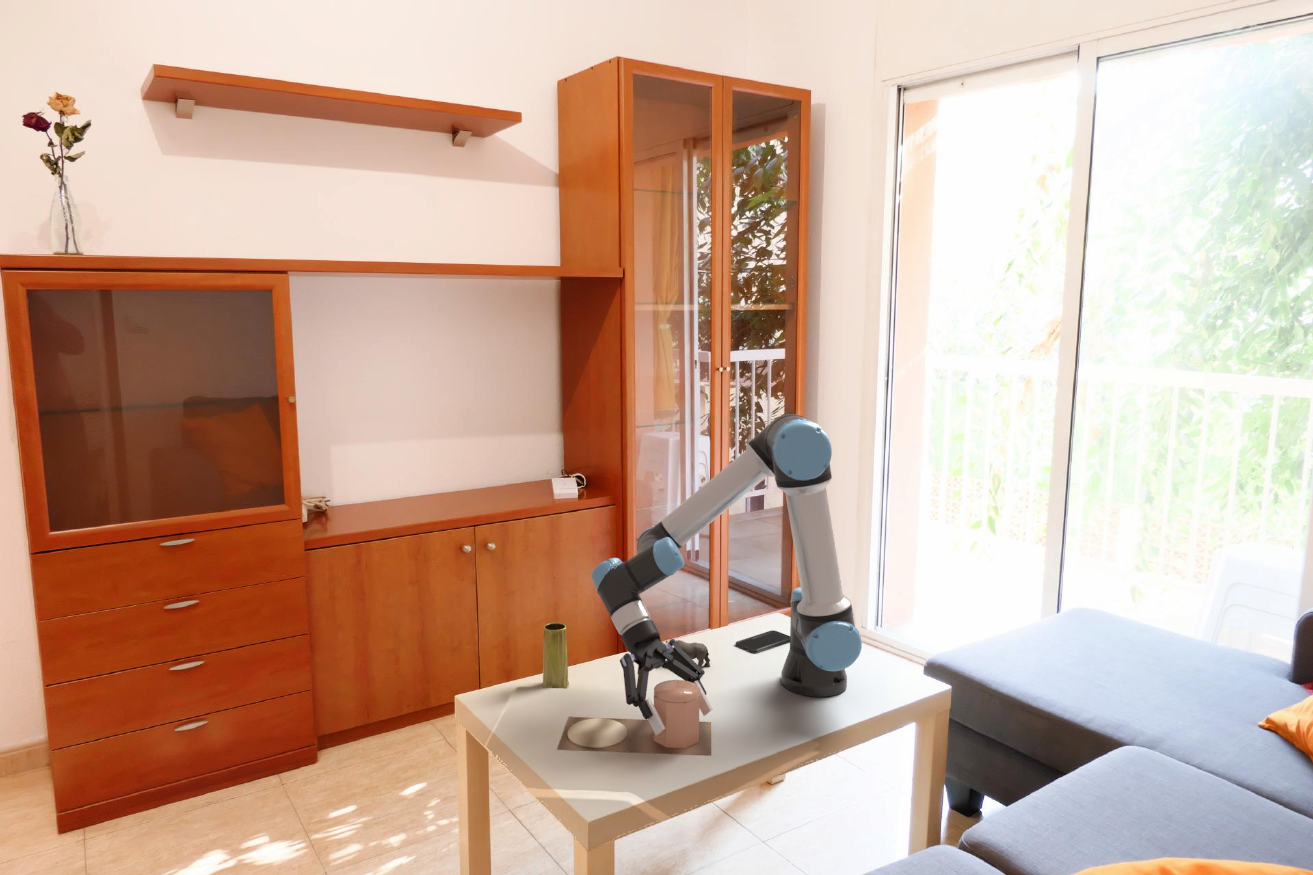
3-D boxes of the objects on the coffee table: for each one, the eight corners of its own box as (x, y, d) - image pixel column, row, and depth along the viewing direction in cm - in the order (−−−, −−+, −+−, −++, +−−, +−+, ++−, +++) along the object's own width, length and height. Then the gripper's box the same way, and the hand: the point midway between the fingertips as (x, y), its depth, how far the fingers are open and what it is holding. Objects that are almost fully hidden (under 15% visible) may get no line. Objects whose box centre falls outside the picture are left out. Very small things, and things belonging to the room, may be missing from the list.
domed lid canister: (677, 721, 182) (678, 676, 180) (708, 737, 175) (709, 690, 174) (644, 735, 176) (644, 688, 174) (675, 752, 169) (675, 703, 167)
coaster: (629, 721, 182) (629, 719, 182) (624, 749, 170) (624, 747, 170) (572, 718, 183) (572, 717, 182) (562, 746, 171) (563, 744, 171)
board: (711, 727, 182) (711, 721, 182) (711, 761, 168) (711, 755, 168) (568, 722, 184) (568, 716, 184) (557, 755, 170) (557, 749, 170)
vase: (547, 693, 198) (547, 632, 196) (538, 682, 203) (537, 624, 201) (572, 687, 201) (572, 628, 199) (562, 678, 206) (562, 620, 204)
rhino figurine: (658, 657, 219) (658, 634, 218) (711, 664, 215) (712, 641, 214) (653, 663, 215) (653, 640, 215) (707, 670, 211) (707, 647, 210)
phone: (794, 638, 231) (755, 651, 222) (794, 642, 231) (755, 655, 222) (773, 629, 237) (733, 642, 228) (772, 633, 237) (733, 646, 228)
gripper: (670, 623, 192) (718, 712, 183) (581, 650, 176) (629, 749, 167) (687, 606, 188) (737, 696, 179) (597, 632, 172) (647, 733, 163)
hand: (685, 722), depth 173 cm, fingers open, 12 cm apart
